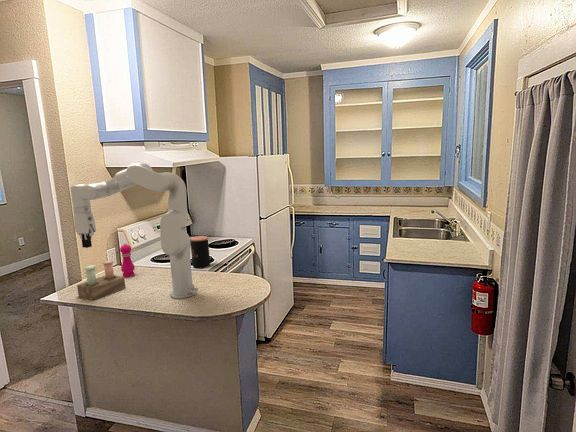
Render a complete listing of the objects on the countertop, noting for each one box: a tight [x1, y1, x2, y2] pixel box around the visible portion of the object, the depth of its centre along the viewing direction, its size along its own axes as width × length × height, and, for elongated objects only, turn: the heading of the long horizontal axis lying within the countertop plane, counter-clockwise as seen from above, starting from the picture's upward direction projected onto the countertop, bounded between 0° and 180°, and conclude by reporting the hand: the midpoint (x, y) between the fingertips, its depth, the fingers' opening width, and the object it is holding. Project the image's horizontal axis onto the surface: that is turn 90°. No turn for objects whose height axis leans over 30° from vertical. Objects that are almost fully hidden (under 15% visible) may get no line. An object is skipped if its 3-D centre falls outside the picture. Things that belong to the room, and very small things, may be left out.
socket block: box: [76, 275, 126, 301], centre depth 189 cm, size 12×18×6 cm, turn 152°
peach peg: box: [102, 259, 114, 280], centre depth 192 cm, size 5×5×10 cm
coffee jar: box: [190, 235, 211, 269], centre depth 226 cm, size 11×11×18 cm
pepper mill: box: [119, 241, 136, 278], centre depth 213 cm, size 7×7×20 cm
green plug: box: [83, 264, 97, 286], centre depth 183 cm, size 5×5×10 cm
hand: (87, 246), depth 181 cm, fingers closed
